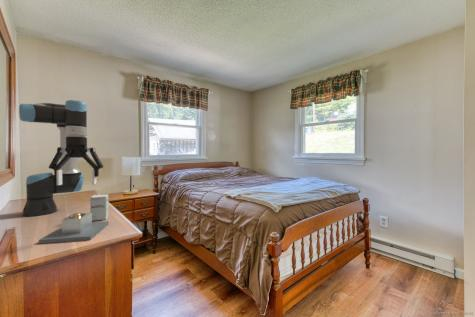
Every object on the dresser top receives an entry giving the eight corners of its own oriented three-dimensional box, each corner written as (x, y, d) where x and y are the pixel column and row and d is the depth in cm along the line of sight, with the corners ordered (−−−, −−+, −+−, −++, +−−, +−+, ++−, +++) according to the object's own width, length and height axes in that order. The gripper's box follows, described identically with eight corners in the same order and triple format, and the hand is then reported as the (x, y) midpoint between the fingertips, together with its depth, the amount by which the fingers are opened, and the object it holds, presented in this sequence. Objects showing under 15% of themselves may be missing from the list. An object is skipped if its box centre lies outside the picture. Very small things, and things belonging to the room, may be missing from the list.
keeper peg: (76, 228, 97) (76, 212, 97) (82, 228, 98) (82, 212, 98) (73, 230, 95) (73, 214, 95) (79, 230, 96) (79, 213, 95)
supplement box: (89, 221, 113) (89, 197, 112) (93, 217, 119) (93, 194, 119) (106, 220, 115) (106, 196, 115) (108, 216, 122) (108, 193, 122)
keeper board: (67, 226, 104) (67, 223, 104) (108, 224, 108) (108, 221, 108) (38, 243, 85) (38, 239, 85) (90, 239, 89) (90, 236, 89)
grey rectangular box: (75, 226, 101) (75, 213, 101) (92, 225, 102) (91, 212, 102) (62, 233, 91) (62, 219, 91) (80, 232, 92) (80, 218, 92)
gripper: (37, 135, 89) (38, 186, 90) (104, 136, 95) (105, 185, 95) (49, 136, 97) (49, 183, 97) (110, 137, 102) (111, 182, 103)
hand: (77, 184), depth 96 cm, fingers open, 13 cm apart
